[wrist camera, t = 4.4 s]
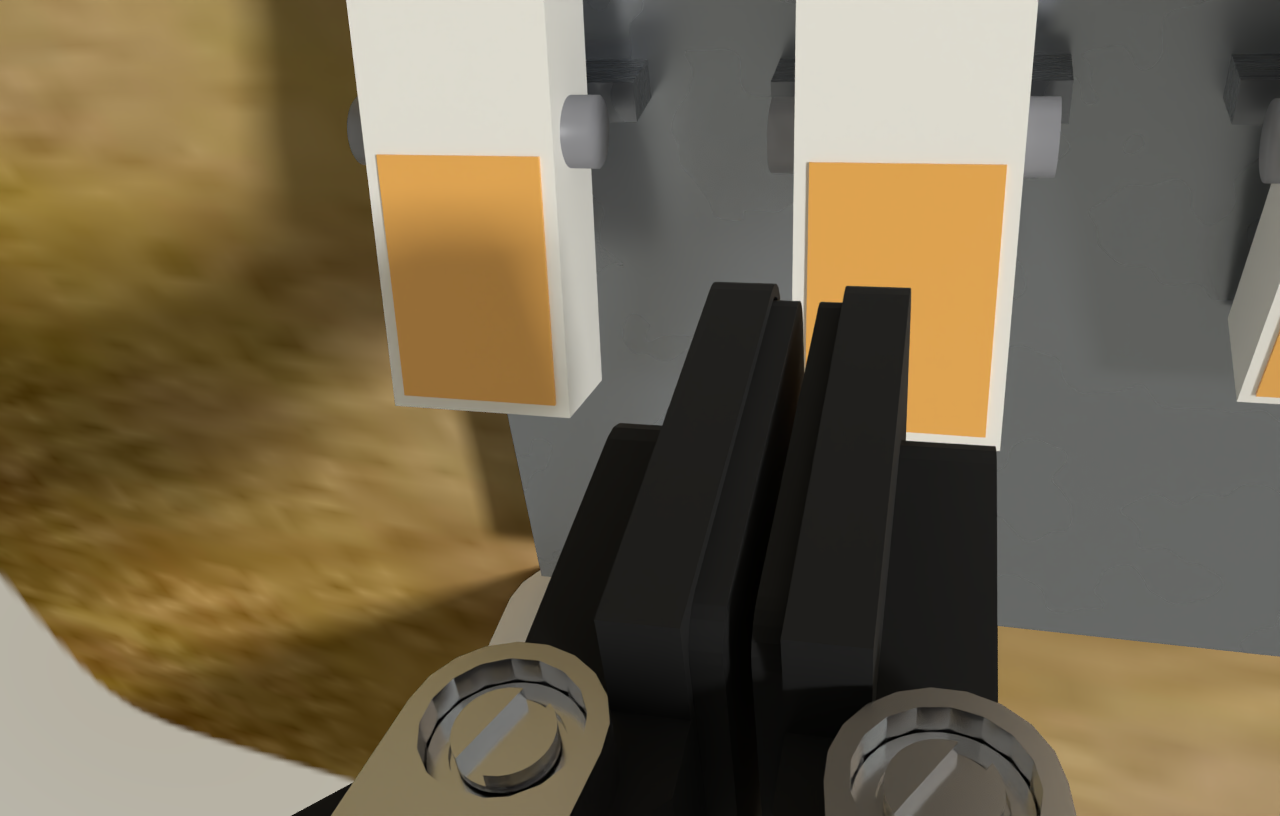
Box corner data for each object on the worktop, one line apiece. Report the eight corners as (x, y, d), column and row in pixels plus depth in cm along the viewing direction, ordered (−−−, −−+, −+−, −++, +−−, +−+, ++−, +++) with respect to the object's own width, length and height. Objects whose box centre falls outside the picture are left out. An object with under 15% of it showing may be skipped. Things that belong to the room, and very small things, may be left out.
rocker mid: (784, -195, 15) (763, -207, 14) (1086, -214, 14) (1096, -229, 13) (779, 392, 18) (761, 435, 17) (1027, 408, 17) (1031, 454, 16)
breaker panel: (271, -885, 14) (130, -953, 12) (1970, -1296, 10) (2247, -1524, 8) (548, 511, 27) (506, 604, 25) (1330, 585, 23) (1364, 704, 21)
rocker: (356, -169, 17) (295, -178, 15) (601, -185, 16) (562, -196, 14) (416, 368, 20) (370, 404, 18) (626, 381, 19) (595, 421, 17)
